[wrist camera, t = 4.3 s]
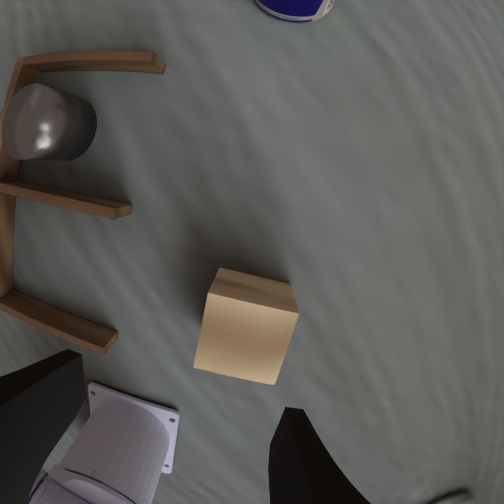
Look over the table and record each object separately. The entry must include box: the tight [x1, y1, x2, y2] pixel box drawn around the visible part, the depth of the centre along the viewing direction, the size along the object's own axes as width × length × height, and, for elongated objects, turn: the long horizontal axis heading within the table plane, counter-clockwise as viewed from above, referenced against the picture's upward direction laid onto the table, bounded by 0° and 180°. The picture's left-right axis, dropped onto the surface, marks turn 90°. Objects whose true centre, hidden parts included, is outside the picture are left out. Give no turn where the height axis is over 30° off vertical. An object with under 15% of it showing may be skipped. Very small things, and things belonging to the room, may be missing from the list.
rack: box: [0, 51, 166, 355], centre depth 17 cm, size 19×11×2 cm, turn 166°
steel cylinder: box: [1, 83, 97, 161], centre depth 15 cm, size 4×4×5 cm
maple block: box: [194, 267, 299, 385], centre depth 18 cm, size 4×4×4 cm
